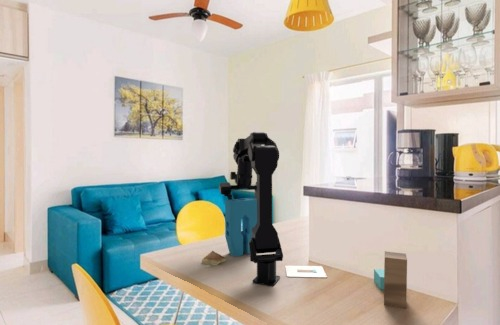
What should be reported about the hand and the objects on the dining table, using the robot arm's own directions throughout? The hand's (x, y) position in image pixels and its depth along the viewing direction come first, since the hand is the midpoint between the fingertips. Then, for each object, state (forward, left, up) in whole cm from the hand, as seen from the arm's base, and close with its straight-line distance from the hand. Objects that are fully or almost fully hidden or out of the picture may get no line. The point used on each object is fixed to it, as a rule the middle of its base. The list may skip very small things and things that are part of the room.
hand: (242, 207), depth 127 cm
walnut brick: (-28, -55, -15) cm, 63 cm away
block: (-8, -3, -16) cm, 18 cm away
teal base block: (-18, -53, -15) cm, 58 cm away
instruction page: (-17, -29, -15) cm, 37 cm away
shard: (-19, +4, -16) cm, 25 cm away
